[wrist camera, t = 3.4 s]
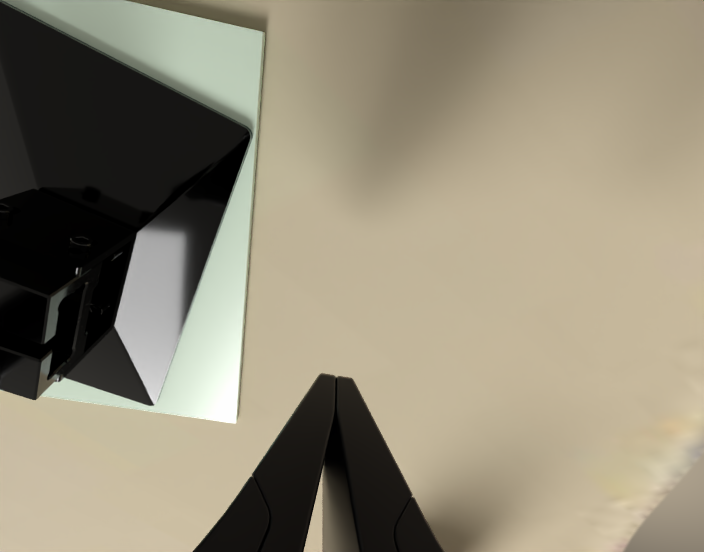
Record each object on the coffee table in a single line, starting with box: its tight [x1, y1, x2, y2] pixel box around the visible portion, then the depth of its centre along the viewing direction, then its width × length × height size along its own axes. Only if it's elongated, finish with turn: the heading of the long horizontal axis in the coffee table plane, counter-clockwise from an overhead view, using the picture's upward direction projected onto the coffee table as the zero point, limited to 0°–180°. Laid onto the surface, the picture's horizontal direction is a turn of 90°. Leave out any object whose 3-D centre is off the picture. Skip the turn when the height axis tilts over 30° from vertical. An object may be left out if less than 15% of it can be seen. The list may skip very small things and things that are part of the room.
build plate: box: [0, 0, 253, 406], centre depth 11 cm, size 12×7×5 cm, turn 153°
